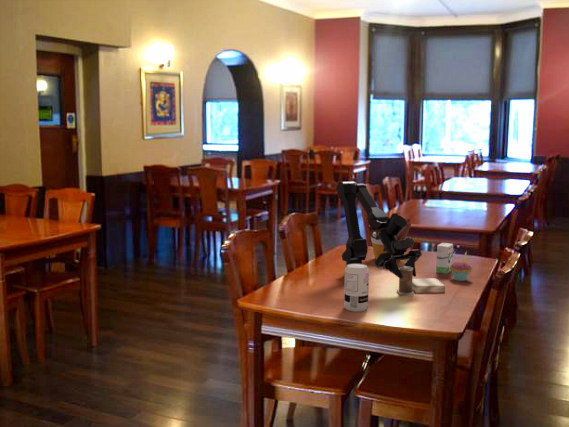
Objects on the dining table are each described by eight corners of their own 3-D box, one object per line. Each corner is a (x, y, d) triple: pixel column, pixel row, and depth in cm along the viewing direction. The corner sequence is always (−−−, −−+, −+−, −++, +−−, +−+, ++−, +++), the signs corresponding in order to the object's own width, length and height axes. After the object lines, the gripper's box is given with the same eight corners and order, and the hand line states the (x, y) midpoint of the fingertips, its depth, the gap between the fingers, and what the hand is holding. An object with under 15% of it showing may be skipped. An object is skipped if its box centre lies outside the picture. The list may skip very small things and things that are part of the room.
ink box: (447, 274, 267) (448, 246, 266) (435, 272, 270) (436, 245, 268) (452, 270, 275) (453, 243, 273) (441, 268, 277) (442, 242, 276)
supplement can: (341, 305, 221) (342, 263, 219) (365, 305, 222) (366, 263, 220) (346, 312, 213) (347, 268, 211) (370, 312, 214) (371, 268, 212)
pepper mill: (400, 295, 234) (401, 269, 233) (396, 291, 239) (397, 266, 238) (414, 295, 235) (415, 269, 233) (410, 291, 240) (411, 265, 238)
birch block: (416, 293, 239) (416, 285, 238) (408, 286, 250) (408, 278, 249) (444, 293, 240) (445, 285, 239) (435, 285, 250) (435, 278, 250)
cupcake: (471, 277, 261) (472, 249, 260) (470, 282, 253) (471, 253, 252) (450, 276, 264) (451, 247, 262) (448, 281, 256) (449, 251, 254)
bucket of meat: (364, 261, 291) (365, 218, 288) (370, 254, 307) (372, 213, 304) (408, 264, 285) (409, 220, 282) (412, 257, 300) (414, 215, 297)
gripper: (380, 232, 232) (398, 267, 224) (419, 228, 241) (438, 262, 234) (367, 249, 240) (384, 284, 232) (405, 245, 249) (423, 278, 241)
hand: (408, 277), depth 235 cm, fingers open, 6 cm apart
